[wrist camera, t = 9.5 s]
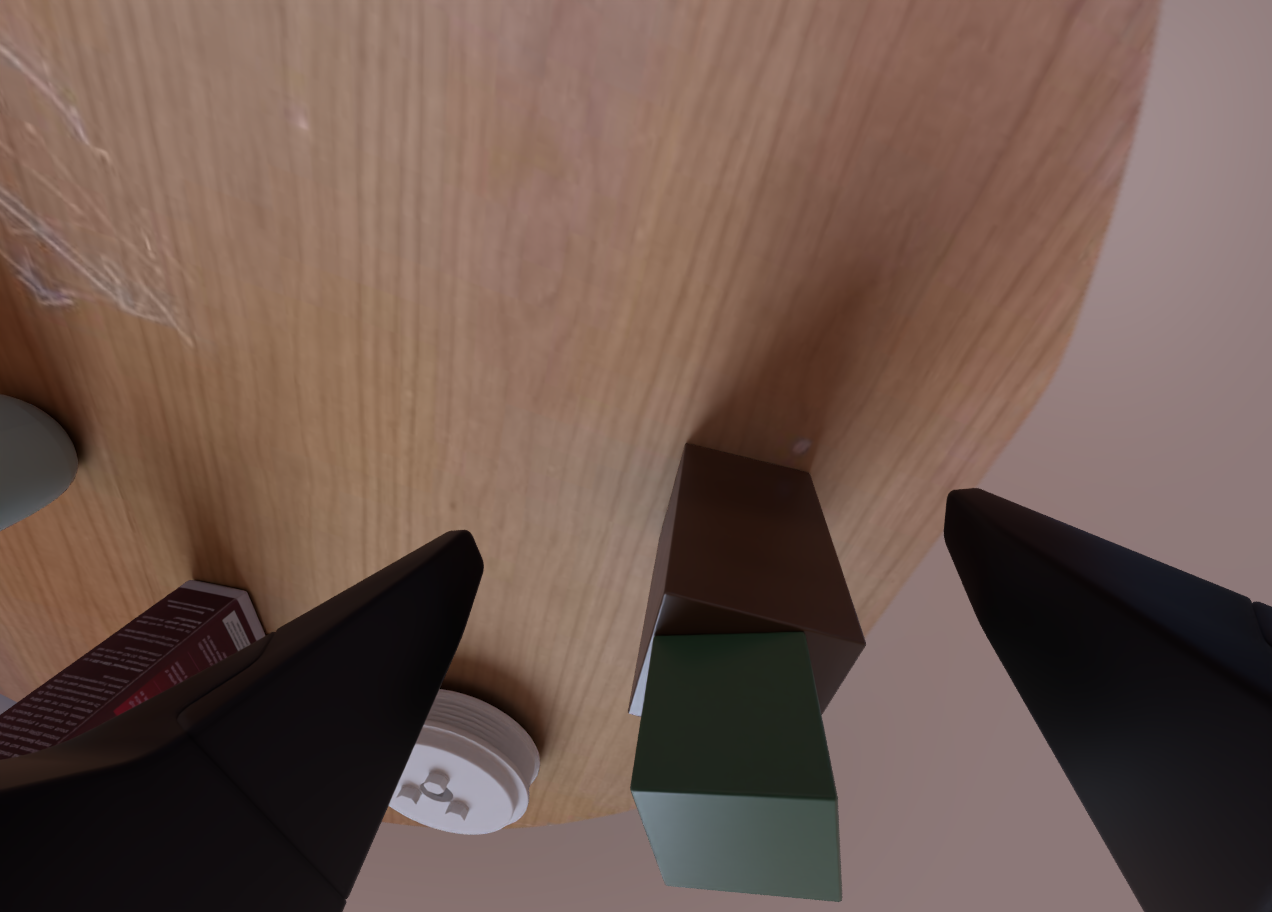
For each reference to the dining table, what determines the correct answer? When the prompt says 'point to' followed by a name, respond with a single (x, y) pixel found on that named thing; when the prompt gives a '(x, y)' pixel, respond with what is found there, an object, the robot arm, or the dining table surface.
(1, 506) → the cup
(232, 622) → the supplement box
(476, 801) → the grey round disc
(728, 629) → the stand
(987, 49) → the dining table surface
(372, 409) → the dining table surface
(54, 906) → the robot arm
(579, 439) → the dining table surface
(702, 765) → the block
